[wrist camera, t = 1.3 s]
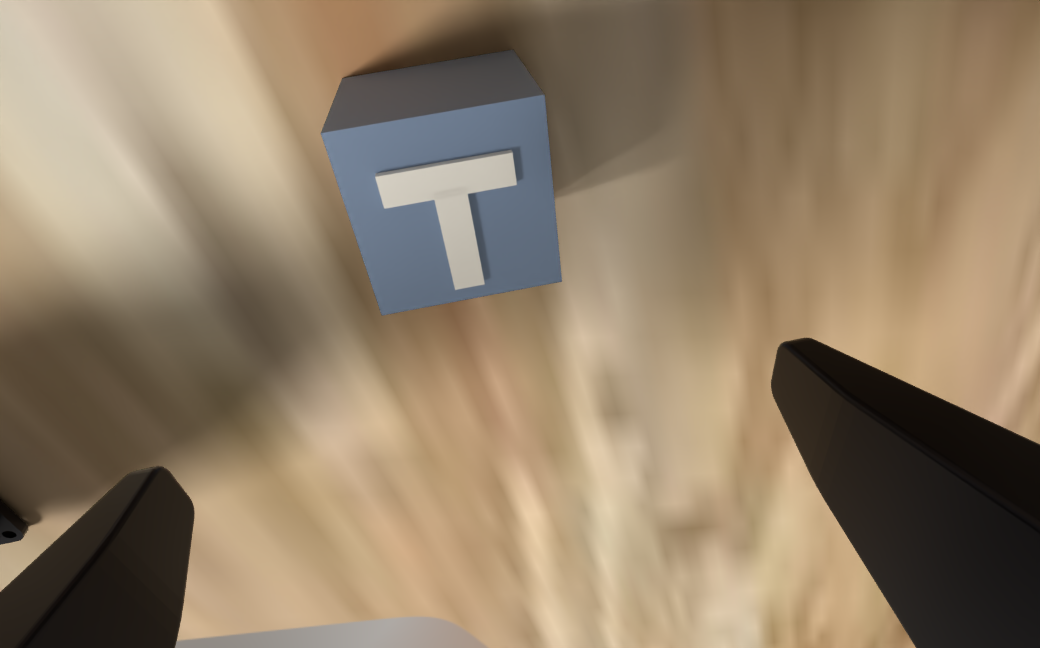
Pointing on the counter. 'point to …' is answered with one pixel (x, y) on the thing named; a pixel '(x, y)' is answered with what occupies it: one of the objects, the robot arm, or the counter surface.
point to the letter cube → (446, 179)
